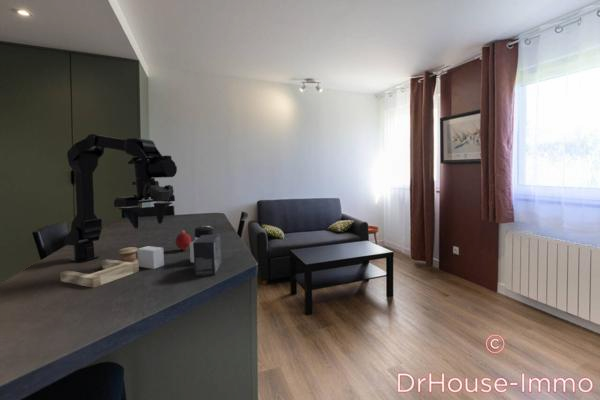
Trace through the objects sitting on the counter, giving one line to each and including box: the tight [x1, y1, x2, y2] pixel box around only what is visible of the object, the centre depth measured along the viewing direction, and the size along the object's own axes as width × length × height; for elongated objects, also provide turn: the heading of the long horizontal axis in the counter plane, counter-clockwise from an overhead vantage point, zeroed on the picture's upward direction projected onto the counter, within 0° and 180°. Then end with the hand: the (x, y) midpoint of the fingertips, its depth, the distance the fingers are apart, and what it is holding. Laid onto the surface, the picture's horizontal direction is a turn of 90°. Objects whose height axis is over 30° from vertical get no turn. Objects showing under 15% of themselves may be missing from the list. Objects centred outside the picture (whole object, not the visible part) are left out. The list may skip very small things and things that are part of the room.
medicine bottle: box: [189, 225, 214, 264], centre depth 102 cm, size 7×7×12 cm
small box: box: [192, 233, 223, 277], centre depth 92 cm, size 11×6×10 cm, turn 5°
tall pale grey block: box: [136, 245, 165, 270], centre depth 97 cm, size 7×4×6 cm, turn 68°
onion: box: [175, 230, 192, 251], centre depth 116 cm, size 6×6×8 cm
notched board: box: [59, 258, 140, 288], centre depth 88 cm, size 14×14×2 cm
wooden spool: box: [118, 246, 139, 263], centre depth 99 cm, size 6×6×5 cm
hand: (148, 225), depth 96 cm, fingers open, 9 cm apart
